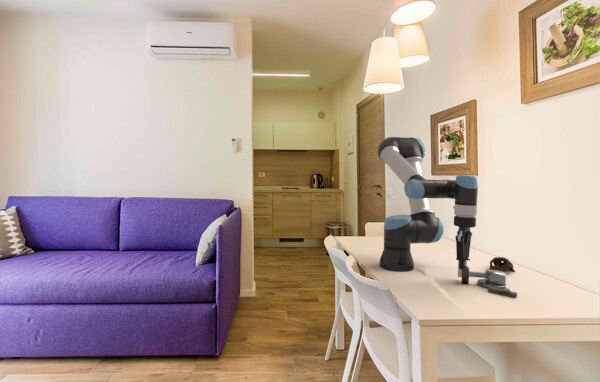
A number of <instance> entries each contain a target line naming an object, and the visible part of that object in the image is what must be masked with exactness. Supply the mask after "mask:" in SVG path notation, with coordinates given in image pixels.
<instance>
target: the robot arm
mask: <svg viewBox="0 0 600 382" xmlns="http://www.w3.org/2000/svg"><path fill="white" fill-rule="evenodd" d="M376 152H377V157H378V159H379V160H380V161H381V163H383V164H386V165H387V166H388V168H389V169H390V170H392V172H393V173H394V174H395V175H396V176H397V178H398V179H399V180H400V181H401V182H402V183H403V185H404V186H403V187H404V189H403V190H404V193H405V196H406V197H407V199H408V203H409V207H410V213H409V214H396V215H390V216H387V217H386V218H385V219H384V225H383V251H382V252H381V256H380V259H379V267H380V268H383V269H385V270H388V271H395V272H407V271H412V270H414V269H415V262H414V259H413V256H412V252H411V244H433V243H438V242H439V241H440V240H441V239H442V237H443V234H444V222H443V221H442V219H441V218H439V217H437V216H436V213H435V211H433V210H432V209H431V208H430V204H429V199H452V200H454V206H453V208H452V209H454V211H453V212H454V213H453V214H454V215H453V225H454V226H455V227H458V230H457V232H456V233H457V234H456V235H455V244H456V245H455V247H456V257H455V260H456V261H458V263H457V264H458V265H457V267H458V268H457V277H458V278H462V266H468V261H470V260H471V258H470V249H471V242H472V236H473V232H472V231H471V228H476V226H477V217H476V216H477V213H478V212H477V208H478V205H477V204H478V191H479V178H478V177H477V176H476V175H467V174H466V175H465V174H464V175H461V174H460V175H458V174H457V175H456V176H455V179H426V178H425V177H424V176H423V171H422V167H421V163H423V159H424V158H425V155H426V146H425V143H424V142H423V140H421V139H420V138H417V137H413V136H412V137H411V136H410V137H402V136H401V137H400V136H389V137H386V138H384V139H383V140H382V141H381V142H380V143H379V144H378V147H377V150H376Z"/></svg>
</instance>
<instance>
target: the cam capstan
mask: <svg viewBox="0 0 600 382" xmlns="http://www.w3.org/2000/svg"><path fill="white" fill-rule="evenodd" d="M506 273H507V272H502V271H498V270H489V269H486V270H485V271H484V272H482V271H480V272H479V271H470V267H469V266H468V265H467V266H462V277H461V283H464V284H470V278H479V279H478V280H477V283H476V284H477V285H478V286H480V287H481V288H484V289H488V288H489V287H494V288H499V289H503V290H505V289H506V288H507V283H506V282H507V274H506Z"/></svg>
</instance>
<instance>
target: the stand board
mask: <svg viewBox="0 0 600 382" xmlns="http://www.w3.org/2000/svg"><path fill="white" fill-rule="evenodd" d="M457 284H458V285H462V286H463V285H465V286H472V284H471V283H469V284H464V283H462V282H457ZM487 289H488V290H487V291H488V293H492V294H496V295H500V296H505V297H509V298H513V299H514V298H515V299H516V298H517V297H518V292H516V291H513V290H512V291H511V289H510V288H507V287H506V289H499V288H494V287H489V288H487Z"/></svg>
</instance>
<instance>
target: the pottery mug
mask: <svg viewBox="0 0 600 382" xmlns="http://www.w3.org/2000/svg"><path fill="white" fill-rule="evenodd" d="M514 267H515V266H514V263H512V262H511V261H510V260H509V259H508V258H506V257H503V256H498V257H496V256H495V257H493V258H492V259H491V260H490V261H489V269H488V270H498V271H502V272H505V273H507V272H509V273H511V272H513V273H516V270H515V269H514Z"/></svg>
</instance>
